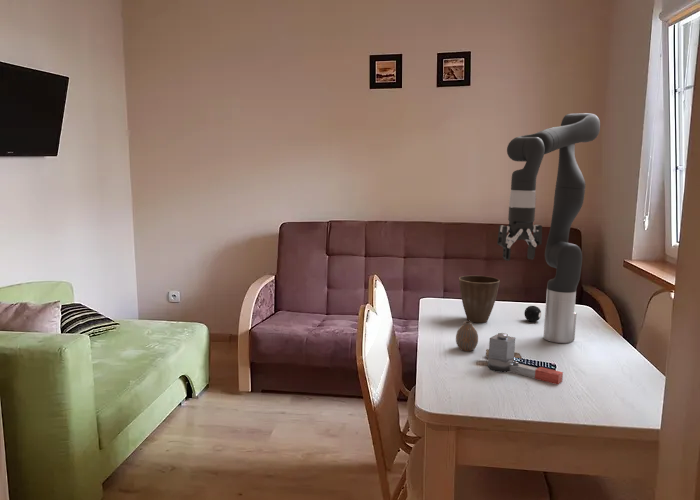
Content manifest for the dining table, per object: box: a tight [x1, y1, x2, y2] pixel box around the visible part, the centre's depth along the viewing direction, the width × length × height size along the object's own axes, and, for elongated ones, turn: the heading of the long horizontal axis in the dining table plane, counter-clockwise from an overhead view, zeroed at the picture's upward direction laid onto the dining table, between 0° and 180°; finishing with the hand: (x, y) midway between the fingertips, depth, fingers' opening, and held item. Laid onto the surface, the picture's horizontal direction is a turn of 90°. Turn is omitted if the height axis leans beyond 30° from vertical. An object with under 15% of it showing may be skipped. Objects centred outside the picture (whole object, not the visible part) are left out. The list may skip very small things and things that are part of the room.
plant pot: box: [458, 275, 500, 324], centre depth 216 cm, size 15×15×16 cm
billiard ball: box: [524, 305, 542, 323], centre depth 217 cm, size 6×6×6 cm
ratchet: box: [487, 358, 564, 386], centre depth 161 cm, size 7×21×6 cm, turn 51°
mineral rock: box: [485, 348, 523, 360], centre depth 173 cm, size 11×4×8 cm
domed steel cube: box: [488, 332, 516, 362], centre depth 165 cm, size 5×5×7 cm
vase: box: [455, 321, 479, 352], centre depth 182 cm, size 7×7×9 cm
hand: (518, 259), depth 172 cm, fingers open, 8 cm apart
